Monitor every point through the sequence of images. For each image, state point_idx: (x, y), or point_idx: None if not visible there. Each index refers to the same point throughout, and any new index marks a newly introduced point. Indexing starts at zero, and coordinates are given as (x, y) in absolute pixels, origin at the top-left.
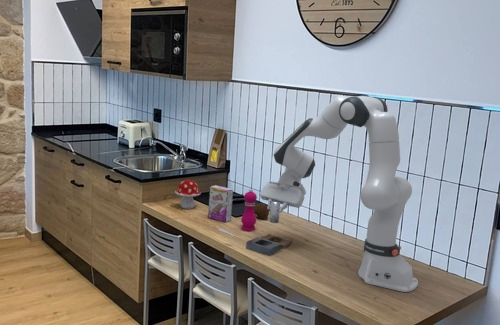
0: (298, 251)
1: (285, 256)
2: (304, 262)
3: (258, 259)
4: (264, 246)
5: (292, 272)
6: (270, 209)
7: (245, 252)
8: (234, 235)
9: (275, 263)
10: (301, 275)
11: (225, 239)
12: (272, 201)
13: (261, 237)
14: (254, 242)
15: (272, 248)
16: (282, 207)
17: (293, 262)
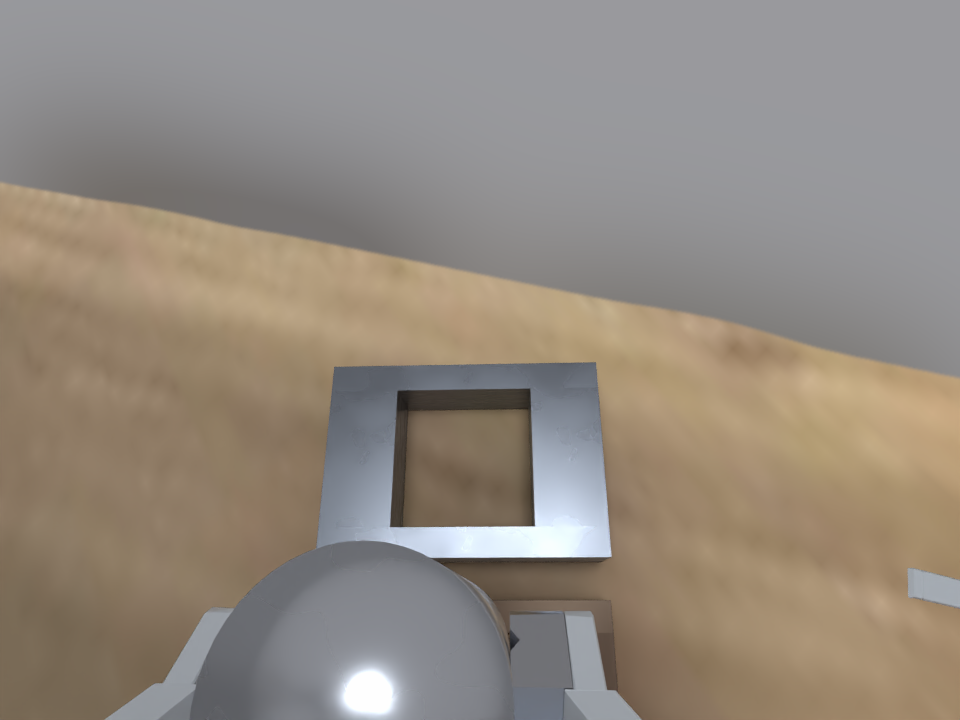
0: None
1: (238, 474)
2: (58, 473)
3: (381, 277)
4: (405, 383)
5: (90, 258)
6: (478, 591)
7: (534, 316)
8: (914, 591)
9: (247, 301)
10: (23, 259)
11: (869, 433)
12: (442, 642)
13: (613, 648)
14: (532, 401)
15: (332, 408)
16: (144, 692)
17: (137, 410)
